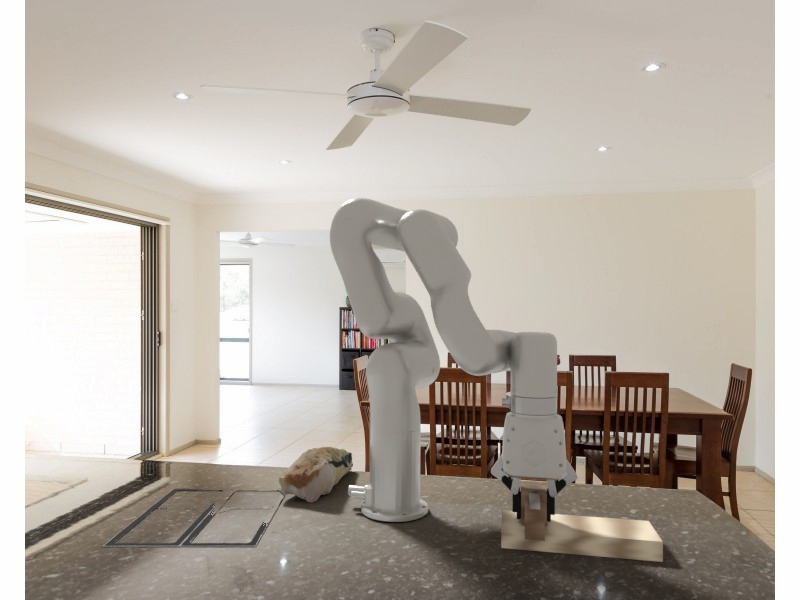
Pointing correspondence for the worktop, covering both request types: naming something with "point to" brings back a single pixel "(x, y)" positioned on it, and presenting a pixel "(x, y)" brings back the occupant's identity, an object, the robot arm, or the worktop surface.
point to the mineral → (316, 472)
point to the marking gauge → (534, 511)
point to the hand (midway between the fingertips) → (533, 516)
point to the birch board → (587, 537)
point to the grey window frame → (187, 535)
